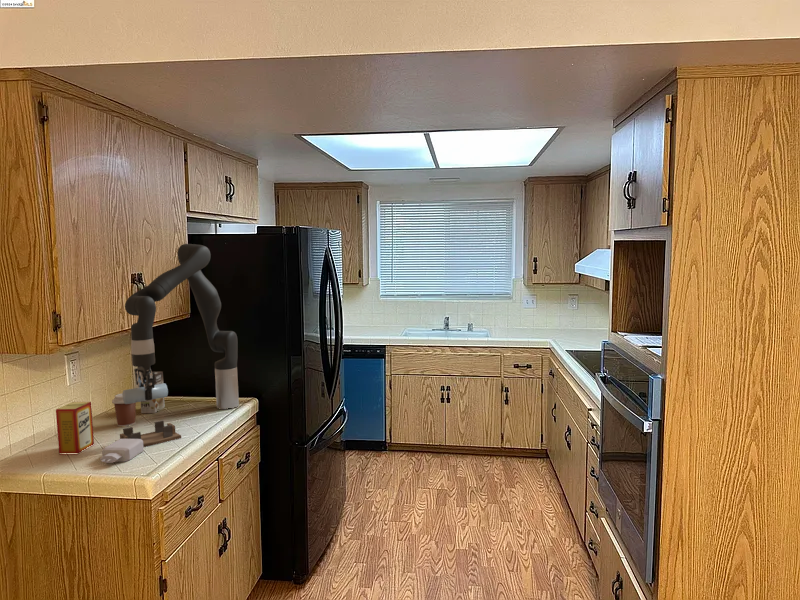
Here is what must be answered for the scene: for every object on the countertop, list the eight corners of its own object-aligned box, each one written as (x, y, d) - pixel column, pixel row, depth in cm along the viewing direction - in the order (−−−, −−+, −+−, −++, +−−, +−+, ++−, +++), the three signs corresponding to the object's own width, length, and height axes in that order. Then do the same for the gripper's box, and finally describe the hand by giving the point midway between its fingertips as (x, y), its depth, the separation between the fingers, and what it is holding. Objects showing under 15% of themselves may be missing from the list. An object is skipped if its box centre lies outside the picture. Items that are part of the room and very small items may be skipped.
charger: (91, 468, 181) (118, 452, 196) (119, 469, 181) (143, 452, 195) (90, 454, 181) (117, 438, 196) (118, 454, 180) (143, 438, 195)
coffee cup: (141, 420, 233) (139, 391, 231) (136, 426, 224) (134, 396, 223) (116, 422, 230) (114, 392, 229) (111, 429, 222) (108, 398, 220)
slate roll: (127, 405, 199) (126, 391, 198) (122, 402, 202) (122, 388, 202) (168, 398, 208) (167, 384, 208) (162, 395, 212) (162, 382, 211)
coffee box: (155, 413, 242) (153, 375, 241) (140, 413, 242) (138, 376, 241) (165, 407, 251) (163, 371, 250) (151, 407, 251) (148, 371, 250)
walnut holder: (115, 443, 205) (114, 429, 204) (168, 430, 217) (167, 418, 217) (126, 451, 196) (125, 437, 195) (181, 438, 209) (180, 424, 208)
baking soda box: (77, 454, 194) (74, 408, 193) (59, 454, 194) (55, 408, 193) (94, 444, 204) (90, 400, 202) (76, 444, 204) (73, 400, 202)
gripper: (161, 352, 201) (164, 400, 203) (146, 348, 212) (149, 393, 213) (139, 355, 196) (142, 404, 197) (125, 350, 206) (128, 397, 208)
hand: (145, 398), depth 205 cm, fingers closed on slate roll, 5 cm apart
